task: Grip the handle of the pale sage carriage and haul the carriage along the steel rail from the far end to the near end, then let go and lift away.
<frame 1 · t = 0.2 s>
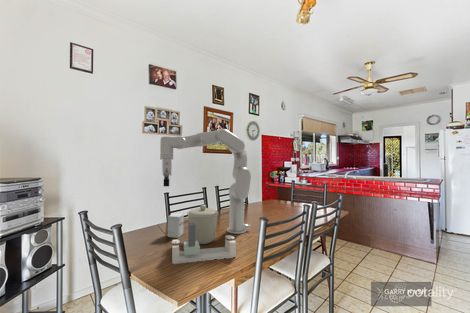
hand: (166, 185, 140), 31 cm above the table, tool pointing down, fingers open, 9 cm apart
carriage: (191, 237, 112), point 10 cm above the table, slide at 6.0 cm
supplement box: (175, 235, 143), on the table
rail track: (203, 256, 114), on the table
canister: (202, 241, 134), on the table
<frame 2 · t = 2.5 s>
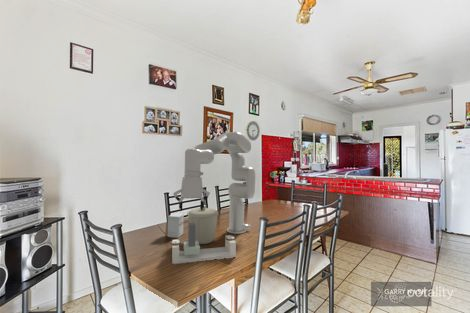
hand: (191, 209, 112), 23 cm above the table, tool pointing down, fingers open, 9 cm apart
nothing on the table moved.
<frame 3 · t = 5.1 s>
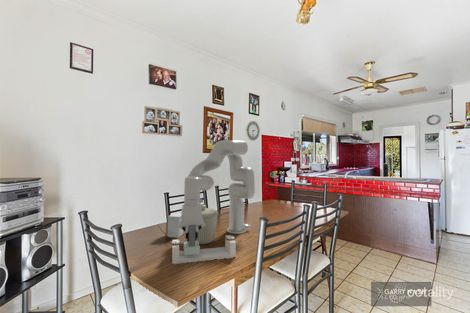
hand: (191, 239, 112), 9 cm above the table, tool pointing down, fingers closed on carriage, 3 cm apart
carriage: (191, 237, 112), point 10 cm above the table, slide at 6.0 cm, touching gripper
everything else where it was.
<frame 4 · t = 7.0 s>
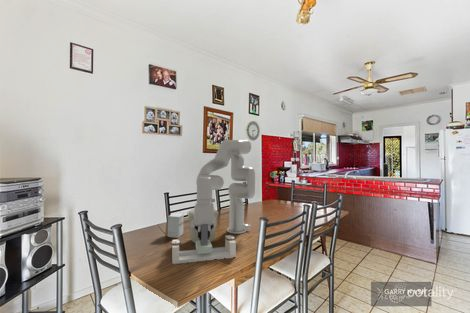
hand: (203, 238, 114), 9 cm above the table, tool pointing down, fingers closed on carriage, 3 cm apart
carriage: (203, 236, 114), point 10 cm above the table, slide at 0.1 cm, touching gripper
everything else where it was.
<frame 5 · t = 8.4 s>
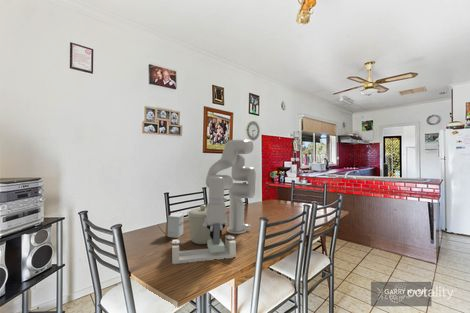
hand: (215, 237, 116), 9 cm above the table, tool pointing down, fingers closed on carriage, 3 cm apart
carriage: (215, 235, 116), point 10 cm above the table, slide at -5.9 cm, touching gripper
everything else where it was.
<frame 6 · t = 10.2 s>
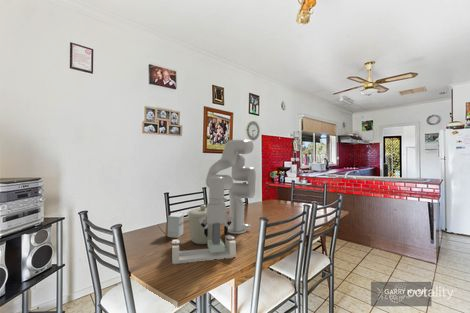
hand: (216, 235, 116), 10 cm above the table, tool pointing down, fingers open, 9 cm apart
carriage: (216, 235, 116), point 10 cm above the table, slide at -6.0 cm
everything else where it was.
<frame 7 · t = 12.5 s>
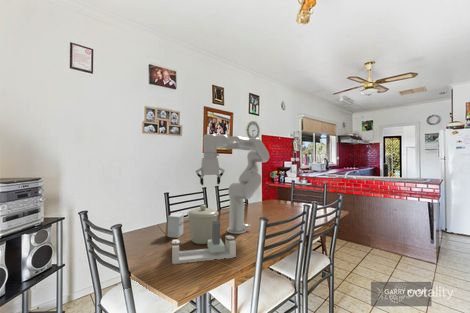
hand: (210, 184, 137), 32 cm above the table, tool pointing down, fingers open, 9 cm apart
nothing on the table moved.
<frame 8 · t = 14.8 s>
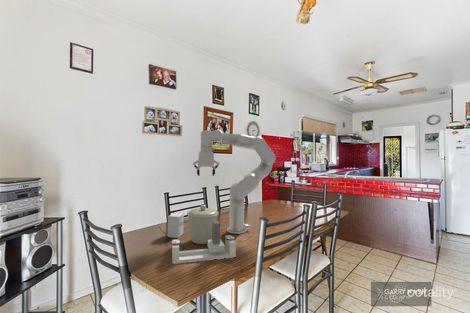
hand: (206, 175, 152), 36 cm above the table, tool pointing down, fingers open, 9 cm apart
nothing on the table moved.
at the end: carriage slide at -6.0 cm; the gripper is holding nothing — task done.
